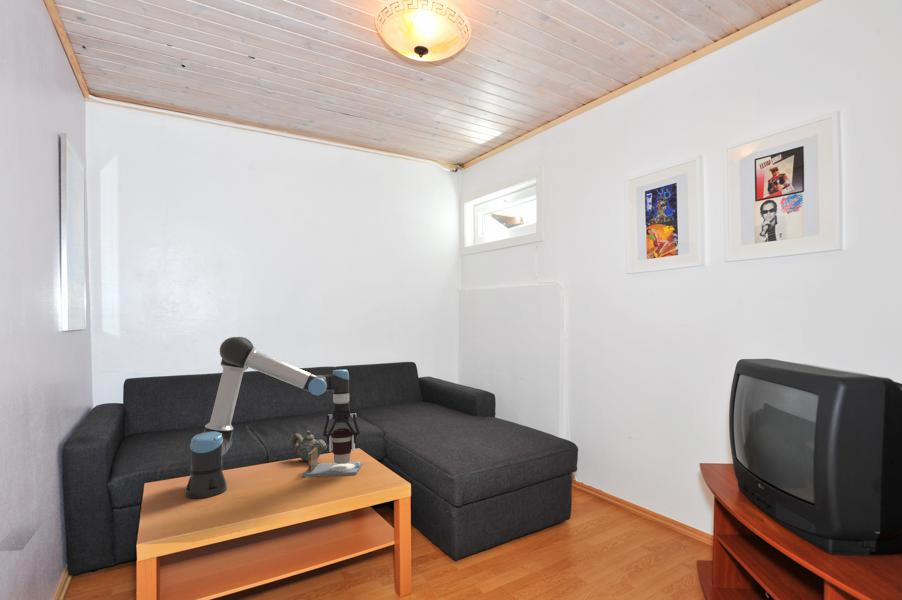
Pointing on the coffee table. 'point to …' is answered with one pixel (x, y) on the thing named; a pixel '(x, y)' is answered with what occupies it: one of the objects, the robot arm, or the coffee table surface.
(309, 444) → the teapot
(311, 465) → the panel
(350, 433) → the coffee cup
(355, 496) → the coffee table surface
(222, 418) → the robot arm
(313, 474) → the grey flat slab
